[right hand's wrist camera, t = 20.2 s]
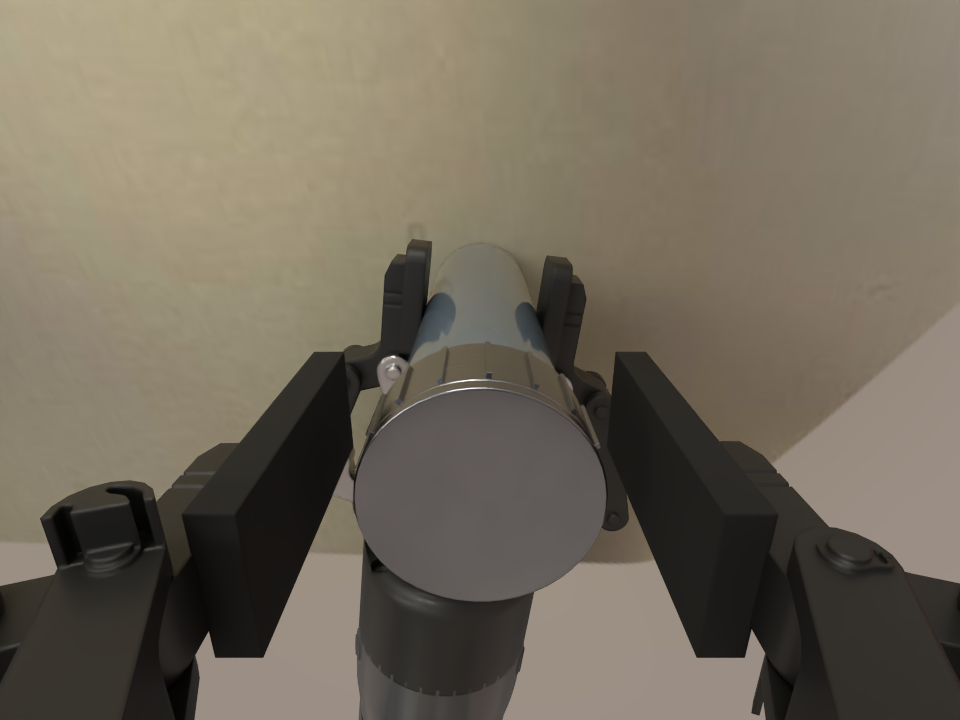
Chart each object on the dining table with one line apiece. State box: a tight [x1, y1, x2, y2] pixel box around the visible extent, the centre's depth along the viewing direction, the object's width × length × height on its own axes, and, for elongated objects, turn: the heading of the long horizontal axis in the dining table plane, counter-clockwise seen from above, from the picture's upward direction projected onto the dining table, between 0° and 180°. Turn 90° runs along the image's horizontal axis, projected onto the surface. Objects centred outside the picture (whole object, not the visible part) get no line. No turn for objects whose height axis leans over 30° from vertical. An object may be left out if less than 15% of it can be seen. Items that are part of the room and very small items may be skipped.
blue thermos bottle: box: [406, 243, 556, 371], centre depth 18 cm, size 4×4×16 cm
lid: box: [353, 341, 608, 602], centre depth 11 cm, size 5×5×2 cm
